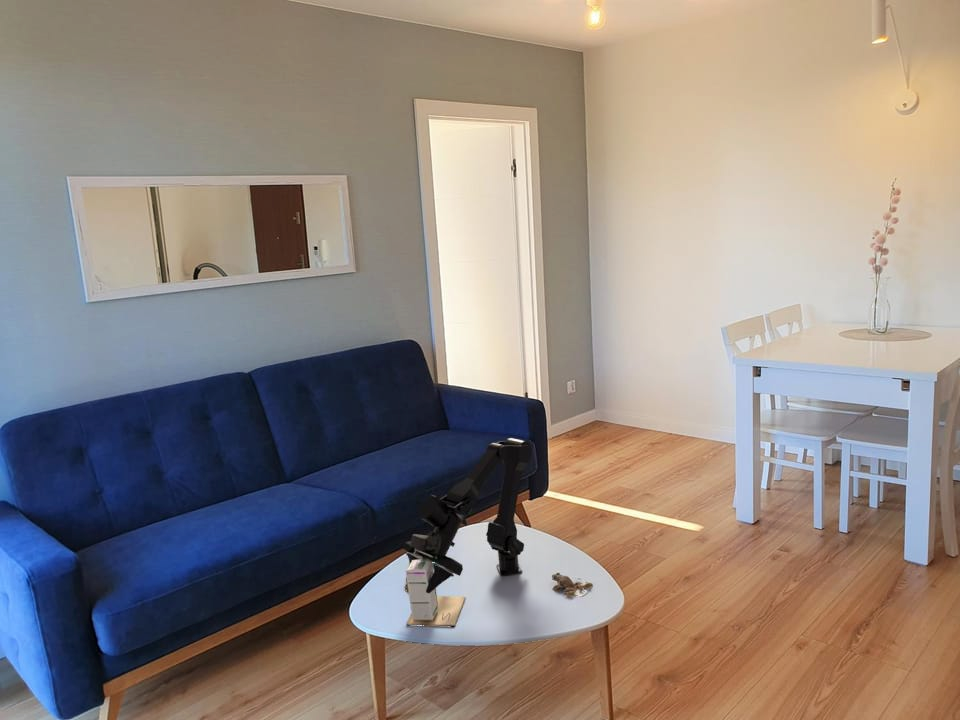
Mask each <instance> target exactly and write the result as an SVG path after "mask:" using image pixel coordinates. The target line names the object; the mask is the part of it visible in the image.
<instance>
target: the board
mask: <svg viewBox="0 0 960 720" xmlns="http://www.w3.org/2000/svg"><path fill="white" fill-rule="evenodd" d="M465 601H466V596H452V595H451V596H449V595H448V596H440V595H437V602H438V610H437V612H436V614H435V616H434V618H433V620H414V619H413V618H412V612H411V613H410V614H409V617H408V619H407V621H406V623H405V625H422V626H421V627H433V626H454V627H453V628H455V627H456V625H457V622H458V619H459V617H460V614H461V613H462V610H463V609H462V608H463V607H464V604H465ZM455 624H456V625H455ZM423 625H424V626H423Z"/></svg>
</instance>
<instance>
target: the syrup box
mask: <svg viewBox="0 0 960 720" xmlns="http://www.w3.org/2000/svg"><path fill="white" fill-rule="evenodd" d="M433 573H434V564H433V565H432V560H424V559H421V560H412V561H411V563H410V565H409V564H408V565H407V568H406V569H405V578H406V577H407V583H406V584H408V591H409V592H408V597H409V603H410V609H411V610H410V611H411V613H412V618H413V619H414V620H433V618H434V616H435V614H436V612H437V610H438V602H437V596H438V595H437V589H436V588H437V587H436V588H435V589H434V590H433V591H432V592H430V593H427V592H426V590H427V587H428V584H429V582H430V580H431V578H432V575H433Z"/></svg>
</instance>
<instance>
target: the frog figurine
mask: <svg viewBox="0 0 960 720" xmlns="http://www.w3.org/2000/svg"><path fill="white" fill-rule="evenodd" d="M551 578H552V581H555V582H556V583H557V585H554V586H553V587H552V588H551V590H552V592H553V591H554V592H558V591H560V587H562V588H563V594H565V597H570V598H572V599H576V598H577V597H578V598H581V597H584V595H585V596H586V595H588V592H587V593H585V594H584V593H583V592H585V591H584V590H589V589H590V588H591V589H592V588H593V587H592V586H594V584H593V583H592V582H590V581H588V580H585V579H582V578H576V577H569V576H568V575H562V574H561V573H560V572H556V573H555V574H554V573H553V574H552V575H551ZM574 578H575V579H574ZM573 580H581V581H582V580H583V581H584V582H585V583H586V584H583V583H584V582H583V581H582V582H581V581H576V582H574V581H573ZM591 589H590V590H591ZM590 590H589V591H590ZM582 591H583V592H582ZM577 592H578V593H579V594H578V593H577ZM576 594H577V595H576ZM580 594H581V595H580ZM582 594H583V595H582ZM578 595H579V596H580V597H579V596H578ZM576 596H577V597H576Z"/></svg>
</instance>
